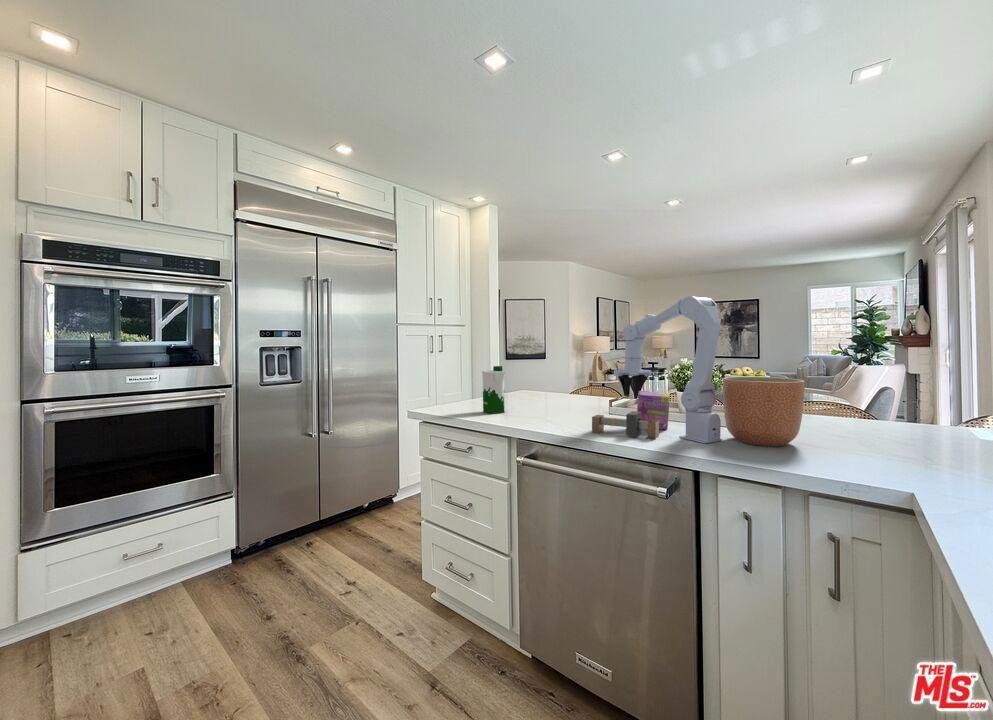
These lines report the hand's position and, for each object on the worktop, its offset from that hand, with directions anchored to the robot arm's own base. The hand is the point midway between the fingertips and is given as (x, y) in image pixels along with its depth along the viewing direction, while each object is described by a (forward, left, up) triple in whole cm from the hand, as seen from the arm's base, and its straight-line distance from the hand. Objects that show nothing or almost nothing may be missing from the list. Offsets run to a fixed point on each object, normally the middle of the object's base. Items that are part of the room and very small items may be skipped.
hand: (631, 395), depth 157 cm
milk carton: (+52, +29, -11) cm, 61 cm away
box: (-6, -4, -11) cm, 13 cm away
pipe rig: (-10, +13, -11) cm, 20 cm away
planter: (-38, -15, -11) cm, 42 cm away
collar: (-12, +11, -11) cm, 20 cm away
